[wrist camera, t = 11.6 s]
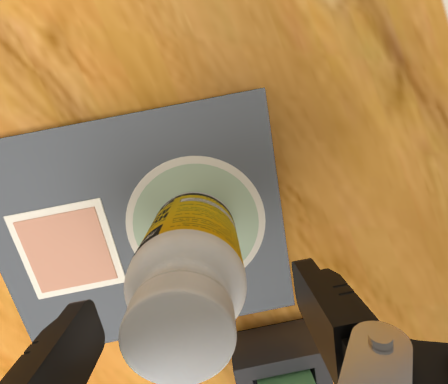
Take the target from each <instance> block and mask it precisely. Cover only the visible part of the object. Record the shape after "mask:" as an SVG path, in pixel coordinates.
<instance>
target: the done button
mask: <svg viewBox="0 0 448 384" xmlns="http://www.w3.org/2000/svg"><path fill="white" fill-rule="evenodd" d="M257 384H316V383H315V380H314V378H313V375H312V373H311V371H310V369H307V370H302V371H297V372H292V373H287V374H282V375H277V376H272V377H267V378H263V379H258V380H257Z"/></svg>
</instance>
